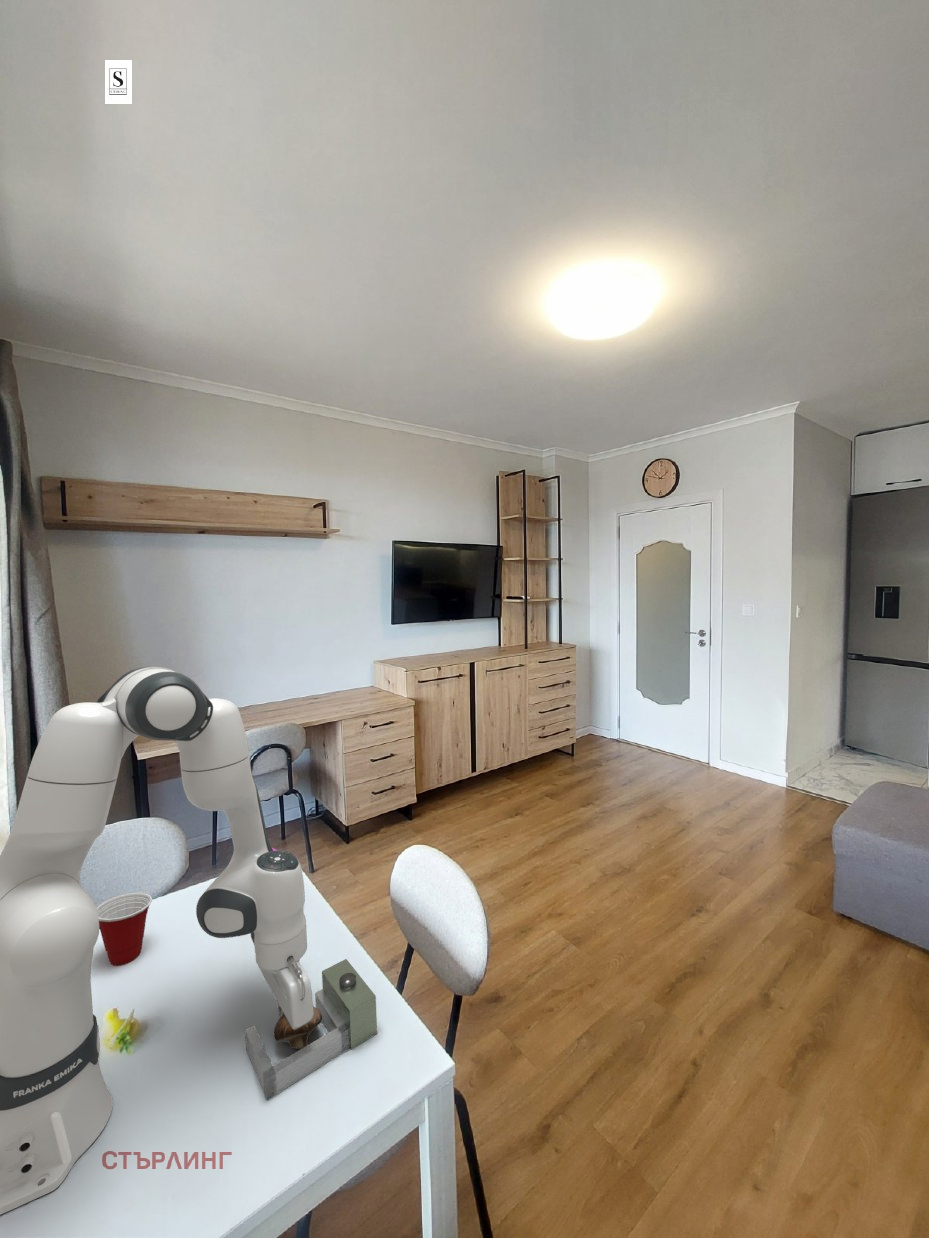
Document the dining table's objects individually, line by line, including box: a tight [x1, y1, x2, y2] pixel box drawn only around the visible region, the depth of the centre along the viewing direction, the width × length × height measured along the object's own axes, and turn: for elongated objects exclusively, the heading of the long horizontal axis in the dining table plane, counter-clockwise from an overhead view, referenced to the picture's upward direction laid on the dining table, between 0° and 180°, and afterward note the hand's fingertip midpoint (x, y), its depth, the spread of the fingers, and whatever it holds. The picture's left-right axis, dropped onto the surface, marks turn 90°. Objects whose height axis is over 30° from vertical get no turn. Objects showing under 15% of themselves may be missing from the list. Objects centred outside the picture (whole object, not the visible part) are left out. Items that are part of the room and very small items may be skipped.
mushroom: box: [273, 1005, 322, 1050], centre depth 88 cm, size 8×8×6 cm
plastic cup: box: [96, 892, 153, 967], centre depth 111 cm, size 11×11×12 cm
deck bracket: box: [244, 958, 378, 1101], centre depth 88 cm, size 19×12×8 cm, turn 128°
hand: (285, 1016), depth 92 cm, fingers closed
